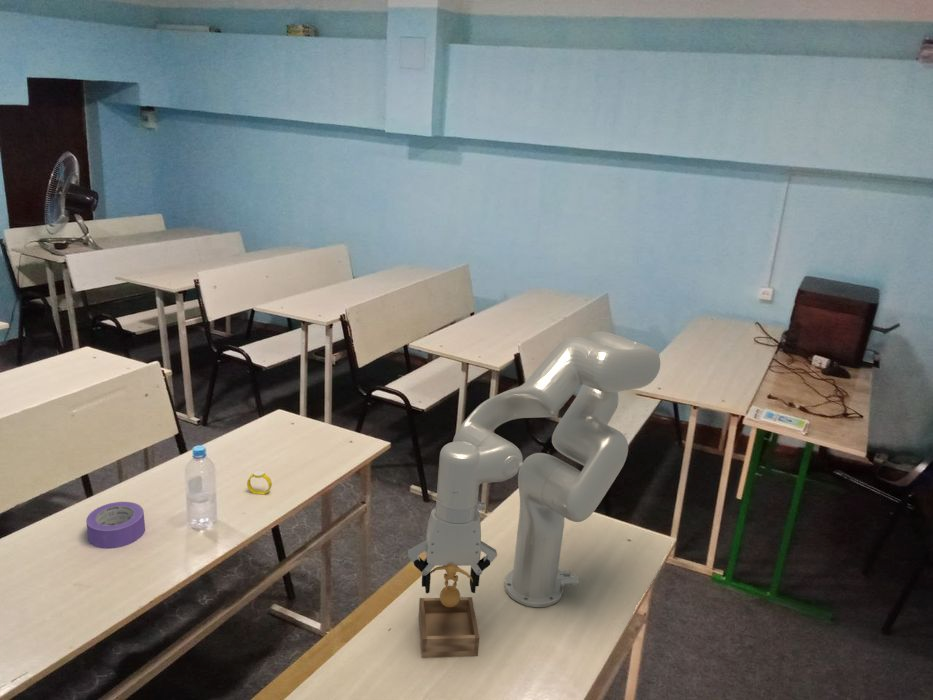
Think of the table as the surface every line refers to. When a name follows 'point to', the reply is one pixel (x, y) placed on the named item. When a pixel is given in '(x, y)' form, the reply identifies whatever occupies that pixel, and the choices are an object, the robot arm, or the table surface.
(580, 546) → the table surface
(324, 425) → the table surface
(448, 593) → the figurine
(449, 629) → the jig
